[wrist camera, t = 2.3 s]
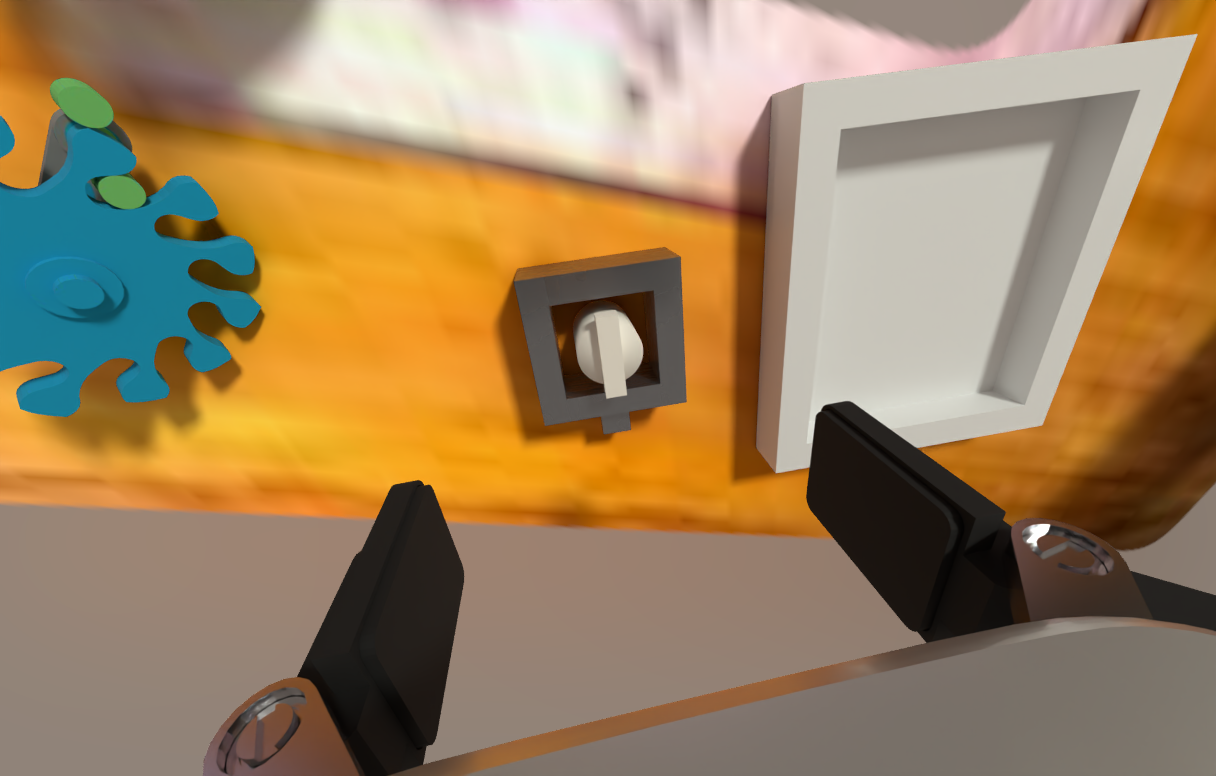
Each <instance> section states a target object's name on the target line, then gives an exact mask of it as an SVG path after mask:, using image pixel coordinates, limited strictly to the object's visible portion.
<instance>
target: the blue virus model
mask: <svg viewBox="0 0 1216 776" xmlns="http://www.w3.org/2000/svg"><path fill="white" fill-rule="evenodd" d="M50 93H51V96H52V98H53V100H54V101H55V102H56V104H57V105H58V106H59V107H60V108H61V109H59V110H57V111H56V112H55V113H54V114H53V116H52V117H51V120H50V125H49V130H48V135H47V141H46V146H45V151H44V157H43V162H42V167H41V172H40V178H39V183H38V186H37V187H35V188H30V189H19V188H14V187H10V186H7V185H5V184H3V183H1V182H0V371H3V370H5V369H9V368H12V367H16V366H19V365H24V364H28V363H32V362H37V361H53V362H57V363H60V364H62V365H64V366H63V368H62V369H61V370H60V371H58V372H56V373H53V374H50V375H46V376H42V377H38V378H35V379H31V380H29V381H27V382H25V383H23V384H22V385H21V386H20V387H19V388H18V389H17V392H16V395H17V399H18V403H19V406H20V409H22V410H25V411H28V412H31V413H36V414H42V415H50V416H63V417H67V416H69V415H71V414H73V413H74V412H75V411H77V409H78V408H79V407H80V398H79V393H80V388H81V386H82V383H83V382H84V380H85V379H86V378H87V376H88V375H89V374H91V373H92V372H93V371H94V370H95V369H96V368H98V367H99V366H100V365H102V364H103V363H104V362H106V361H108V360H111V359H115V358H127V359H131V360H133V361H134V363H133V365H132V366H131V367H129V368H128V369H127V370H126V371H124V372H123V373H122V374H121V375H120V376H119V377H118V378H117V381H116V384H117V387H118V389H119V391H120V393H121V395H122V397H123V399H124V400H125V401H126V402H146V401H152V400H157V399H162V398H166V397H167V396H168V394H169V386H168V385H167V383H166V381H165V380H164V378H163V376H162V375H161V374H160V373H159V372H158V371H157V370H156V369H155V365H154V358H155V352H156V349H157V346H158V343H159V342H160V341H161V340H163V339H165V338H167V337H172V336H179V337H184V338H186V343H185V347H184V355H185V356H186V358H187V359H188V361H189V362H190V364H191V365H192V367H193V368H194V369H196V370H198V371H200V372H205V371H209V370H212V369H214V368H217V367H218V366H220V365H222V364H224V363H225V362H227V361H229V360H230V359H231V355H230V353H229V351H228V350H227V349H226V347H225V346H224V345H223V343H222V342H221V341H219V340H218V339H216V338H213V337H210V336H208V335H206V334H204V333H202V332H200V331H199V330H197V329H196V328H195V327H194V326H193V325H192V323H191V321H190V319H189V317H188V310H189V308H190V307H191V306H192V305H193V304H195V303H198V302H211V303H214V304H215V305H216V307H217V309H218V311H219V312H220V314H221V315H222V316H223V317H224V318H225V320H226V321H227V322H228V323H229V324H231V325H233V326H235V327H240V328H245V327H247V326H248V325H249V324H250V323H251V322H252V321H253V320H254V319H255V317H256V316H257V314H258V312H259V310H260V308H261V306H260V305H259V304H258V303H257V302H256V301H255V300H254V299H253V298H252V297H251V296H250V295H249V294H247V293H245V292H241V291H227V290H221V289H217V288H214V287H211V286H208V285H206V284H204V283H202V282H201V281H199V280H197V279H196V278H194V277H193V276H191V275H190V274H188V268H189V266H190V264H191V263H193V262H194V261H196V260H200V259H208V260H212V261H215V262H216V263H218V264H219V265H221V266H222V267H223V268H225V269H226V270H227V271H229V272H231V273H233V274H237V275H248V274H251V273H252V272H253V270H254V265H255V258H254V251H253V247H252V246H251V245H250V244H249V243H248V242H247V241H246V240H245V239H243V238H241V237H237V236H224V237H221V238H218V239H214V240H209V241H188V240H183V239H178V238H174V237H170V236H166V235H163V234H160V233H158V232H156V231H155V229H154V224H155V221H156V220H157V219H158V218H159V217H161V216H163V215H168V214H174V215H179V216H182V217H185V218H189V219H192V220H197V221H205V220H210V219H212V218H214V217H216V216H217V215H218V214H219V213H218V210H217V207H216V205H215V203H214V202H213V200H212V199H211V197H210V196H209V195H208V194H207V192H206V191H205V190H204V189H203V188H202V187H201V186H200V185H199V184H198V183H197V182H196V181H195V180H194V179H193V178H192V177H191V176H177V177H174V178H172V179H170V180H169V181H168V182H167V183H166V184H165V186H164V187H163V188H162V189H160V190H159V191H158V192H157V193H155V194H153V195H151V196H149V197H146V194H145V191H144V189H143V188H142V187H141V186H140V184H139V183H138V182H137V181H136V180H135V179H134V178H133V177H132V176H131V175H130V174H129V172H130V171H131V170H133V168H134V167H135V165H136V156H135V155H134V154H133V153H132V145H131V142H130V139H129V138H128V136H127V134H126V133H125V132H124V131H123V130H122V129H121V128H120V127H119V126H118V125H117V124H116V123H115V122H114V121H113V115H114V114H113V110H112V108H111V106H110V104H109V103H108V102H107V101H106V100H105V99H104V98H103V97H102V96H101V95H100V94H98V93H97V92H96V91H95V90H94V89H93V88H92V87H90V86H89V85H87V84H85V83H83V82H81V81H79V80H76V79H71V78H60V79H57V80H55V81H54V82H53V83H52V84H51V87H50ZM14 143H15V139H14V135H13V133H12V131H11V129H10V128H9V126H8V124H7V122H6V121H5V120H4V119H3V118H2V116H0V158H1V157H3V156H5V155H6V154H8V153H9V152H10V151H11V150H12V149H13V147H14Z"/></svg>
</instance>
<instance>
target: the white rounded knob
mask: <svg viewBox="0 0 1216 776" xmlns="http://www.w3.org/2000/svg"><path fill="white" fill-rule="evenodd" d="M573 335H574V341H575V347H576V353H577V359H578V363H579V366H580V368H581V370H582V371H583V373H584V374H585V375H586V376H587V377H589V378H590V379H592V380H593V381H596V382H598V383H602V384H604V391H605V395H606V399H607V398H613V397H619V396H625V395H627V390H626V381H625V380H626V379H627V378H629V377H630V376H632V375H633V374H634V373H635V372H636V370H637V369H638V367H639V366H640V364H641V361H642V357H643V345H642V342H641V340H640V337H639V336H638V334H637V332H636V330H635V329H634V327H633V325H632V323H631V322H630V320H629V318H628V316H627V314H626V313H625V311H624V310H623V309H622V308H621V307H620V306H619V305H617V304H615V303H613V302H610V301H605V300H600V301H594V302H591V303H589V304H587V305H586V306H584V307H583V308H582V309H581V310H580V311H579V312H578V314H577V315H576V317H575V319H574V323H573Z"/></svg>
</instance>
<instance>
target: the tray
mask: <svg viewBox="0 0 1216 776" xmlns="http://www.w3.org/2000/svg"><path fill="white" fill-rule="evenodd" d="M1196 37H1197V34H1195V35H1187V36H1179V37H1171V38H1163V39H1155V40H1147V41H1139V42H1131V43H1123V44H1115V45H1107V46H1099V47H1091V48H1083V49H1075V50H1067V51H1059V52H1051V53H1043V54H1035V55H1027V56H1019V57H1011V58H1003V59H995V60H987V61H979V62H971V63H963V64H955V65H947V66H939V67H931V68H923V69H915V70H907V71H899V72H891V73H883V74H875V75H867V76H859V77H851V78H843V79H835V80H827V81H819V82H811V83H804V84H801V85H798V86H795V87H792V88H790V89H787V90H784V91H781V92H778V93H775V94H773V95H772V102H771V125H770V147H769V169H768V192H767V214H766V236H765V258H764V281H763V303H762V325H761V348H760V370H759V392H758V414H757V437H756V448H757V449H758V451H759V452H760V453H761V455H762V456H763V457H764V459H765V460H766V461H767V462H768V464H769V465H770V466H771V468H772V469H773V470H774V472H775V473H780V472H786V471H791V470H797V469H803V468H808V467H810V460H811V452H812V443H813V434H814V426H815V418H816V415H817V413H818V412H821V409H822V407H823V406H824V405H827V404H832V403H838V402H843V401H851V402H853V403H854V404H856V405H857V406H858V407H860V408H861V409H863V410H864V411H865V412H867V413H868V414H870V415H871V416H872V417H874V418H875V419H877V420H878V421H879V422H881V423H882V424H884V425H885V426H886V427H888V428H889V429H891V430H892V431H893V432H895V433H896V434H898V435H899V436H900V437H902V438H903V439H905V440H906V441H907V442H909V443H910V444H912V445H913V446H914V447H916V448H919V447H925V446H930V445H936V444H942V443H947V442H953V441H958V440H964V439H969V438H975V437H980V436H986V435H992V434H997V433H1003V432H1008V431H1014V430H1019V429H1025V428H1030V427H1036V426H1042V424H1043V422H1044V419H1045V417H1046V414H1047V412H1048V409H1049V407H1050V404H1051V402H1052V399H1053V396H1054V394H1055V391H1056V389H1057V386H1058V384H1059V381H1060V379H1061V376H1062V374H1063V371H1064V369H1065V366H1066V364H1067V361H1068V359H1069V356H1070V354H1071V351H1072V349H1073V346H1074V344H1075V341H1076V339H1077V336H1078V334H1079V331H1080V329H1081V326H1082V324H1083V321H1084V318H1085V316H1086V313H1087V311H1088V308H1089V306H1090V303H1091V301H1092V298H1093V296H1094V293H1095V291H1096V288H1097V286H1098V283H1099V281H1100V278H1101V276H1102V273H1103V271H1104V268H1105V266H1106V263H1107V261H1108V258H1109V256H1110V253H1111V251H1112V248H1113V245H1114V243H1115V240H1116V238H1117V235H1118V233H1119V230H1120V228H1121V225H1122V223H1123V220H1124V218H1125V215H1126V213H1127V210H1128V208H1129V205H1130V203H1131V200H1132V198H1133V195H1134V193H1135V190H1136V188H1137V185H1138V183H1139V180H1140V178H1141V175H1142V173H1143V170H1144V167H1145V165H1146V162H1147V160H1148V157H1149V155H1150V152H1151V150H1152V147H1153V145H1154V142H1155V140H1156V137H1157V135H1158V132H1159V130H1160V127H1161V125H1162V122H1163V120H1164V117H1165V115H1166V112H1167V110H1168V107H1169V105H1170V102H1171V100H1172V97H1173V94H1174V92H1175V89H1176V87H1177V84H1178V82H1179V79H1180V77H1181V74H1182V72H1183V69H1184V67H1185V64H1186V62H1187V59H1188V57H1189V54H1190V52H1191V49H1192V47H1193V44H1194V42H1195V39H1196Z"/></svg>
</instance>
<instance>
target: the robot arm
mask: <svg viewBox="0 0 1216 776" xmlns="http://www.w3.org/2000/svg"><path fill="white" fill-rule="evenodd" d="M806 498H807V503H808V506H809V508H810V510H811V511H812V512H813V514H814V515H815V516H816V517H817V518H818V520H819V521H820V522H821V523H822V525H823V526H824V527H825V528H826V529H827V531H828V532H829V533H830V534H831V536H832V537H833V538H834V539H835V540H836V542H838V544H839V545H840V546H841V548H842V549H843V550H844V551H845V553H846V554H847V555H848V556H849V557H850V559H851V560H852V561H853V562H854V563H855V565H856V566H857V567H858V568H859V570H860V571H861V572H862V573H863V574H864V576H865V577H866V578H867V579H868V581H869V582H870V583H871V584H872V585H873V587H874V588H875V589H876V590H877V592H878V593H879V594H880V595H881V596H882V598H883V599H884V600H885V601H886V602H887V604H888V605H889V606H890V607H891V608H892V610H893V611H894V612H895V613H896V615H897V616H898V617H899V618H900V620H901V621H902V622H903V623H904V624H905V625H906V626H907V627H908V628H909V629H910V630H912V631H915V632H916V631H917V632H918V633H919V634H920V635H921V637H922V638H923V639H924V640H925V641H926V643H925V644H921V645H916V646H912V647H908V648H904V649H899V650H895V651H890V652H886V653H882V654H877V655H873V656H868V657H864V658H860V659H856V660H851V661H847V662H842V663H838V664H834V665H830V666H825V667H821V668H817V669H812V670H808V671H804V672H800V673H795V674H791V675H787V676H782V677H778V678H774V679H770V680H766V681H761V682H757V683H753V684H748V685H744V686H740V687H736V688H731V689H727V690H723V691H719V692H715V693H711V694H706V695H702V696H698V697H693V698H689V699H685V700H681V701H677V702H673V703H668V704H664V705H660V706H656V707H651V708H647V709H643V710H639V711H635V712H631V713H627V714H623V715H618V716H615V717H610V718H606V719H602V720H598V721H594V722H590V723H585V724H581V725H577V726H573V727H569V728H565V729H560V730H556V731H552V732H548V733H544V734H540V735H536V736H532V737H527V738H523V739H519V740H515V741H511V742H508V743H504V744H500V745H496V746H492V747H489V748H485V749H481V750H477V751H474V752H470V753H466V754H462V755H458V756H454V757H451V758H447V759H443V760H439V761H435V762H431V763H428V764H424V765H423V762H424V757H425V751H426V746H428V745H432V744H433V743H434V741H435V739H436V736H437V731H438V725H439V719H440V714H441V708H442V703H443V697H444V691H445V686H446V679H447V674H448V669H449V663H450V658H451V652H452V646H453V641H454V635H455V629H456V624H457V618H458V612H459V606H460V601H461V595H462V590H463V583H464V570H463V566H462V563H461V560H460V558H459V555H458V552H457V550H456V547H455V545H454V542H453V540H452V538H451V534H450V532H449V529H448V527H447V524H446V521H445V519H444V516H443V514H442V511H441V508H440V506H439V503H438V501H437V498H436V496H435V493H434V490H433V488H432V487H431V485H425V486H424V484H423V483H422V482H421V481H420V480H417V481H411V482H406V483H401V484H395V485H393V486H392V487H391V489H390V491H389V493H388V495H387V497H386V499H385V501H384V504H383V506H382V508H381V510H380V512H379V514H378V516H377V519H376V521H375V523H374V525H373V527H372V530H371V532H370V534H369V536H368V538H367V540H366V542H365V544H364V547H363V549H362V551H360V552H359V553H358V554H356V556H355V557H354V559H353V561H352V563H351V565H350V567H349V569H348V571H347V573H346V575H345V578H344V579H343V582H342V584H341V586H340V588H339V590H338V592H337V594H336V596H335V598H334V600H333V603H332V605H331V607H330V609H329V611H328V613H327V615H326V618H325V619H324V622H323V623H322V626H321V628H320V630H319V632H318V634H317V636H316V638H315V640H314V643H313V645H312V647H311V649H310V651H309V653H308V655H307V657H306V659H305V661H304V664H303V665H302V668H301V670H300V672H299V674H298V676H297V677H295V678H288V679H283V680H281V681H278V682H276V683H273V684H271V685H268V686H267V687H265V688H264V689H262V690H260V691H259V692H257V693H256V694H254V695H253V696H251V697H250V698H249V699H248V700H247V701H245V702H244V703H243V704H242V705H241V706H239V707H238V708H237V709H236V710H235V711H234V712H233V713H232V714H231V716H230V717H229V718H228V719H227V720H226V721H225V722H224V724H223V725H222V726H221V727H220V729H219V730H218V732H217V733H216V735H215V737H214V738H213V740H212V741H211V743H210V746H209V748H208V750H207V753H206V756H205V758H204V766H203V776H1216V595H1213V594H1209V593H1206V592H1202V591H1198V590H1195V589H1191V588H1188V587H1185V586H1181V585H1178V584H1174V583H1171V582H1167V581H1163V580H1160V579H1157V578H1154V577H1150V576H1147V575H1143V574H1139V573H1136V572H1132V571H1130V569H1129V567H1128V565H1127V563H1126V562H1125V560H1124V559H1123V558H1122V556H1121V555H1120V554H1119V552H1117V551H1116V550H1115V549H1114V548H1113V547H1111V546H1110V545H1109V544H1108V543H1107V542H1105V541H1103V540H1102V539H1100V538H1098V537H1097V536H1095V535H1093V534H1092V533H1089V532H1087V531H1085V530H1082V529H1080V528H1078V527H1075V526H1073V525H1070V524H1066V523H1063V522H1059V521H1056V520H1049V519H1042V518H1030V519H1024V520H1021V521H1018V522H1016V523H1015V524H1014V525H1013V526H1012V527H1011V526H1010V525H1008V524H1007V523H1006V522H1004V521H1003V518H1004V515H1005V513H1006V512H1005V511H1004V510H1002V509H1001V508H1000V507H998V506H997V505H995V504H994V503H993V502H991V501H990V500H988V499H987V498H986V497H984V496H983V495H981V494H980V493H979V492H977V491H976V490H974V489H973V488H972V487H970V486H969V485H968V484H966V483H965V482H963V481H962V480H961V479H959V478H958V477H956V476H955V475H954V474H952V473H951V472H949V471H948V470H947V469H945V468H944V467H942V466H941V465H940V464H938V463H937V462H935V461H934V460H933V459H931V458H930V457H928V456H927V455H926V454H924V453H923V452H921V451H920V450H919V449H917V448H916V447H914V446H913V445H912V444H910V443H909V442H907V441H906V440H905V439H903V438H902V437H900V436H899V435H898V434H896V433H895V432H893V431H892V430H891V429H889V428H888V427H886V426H885V425H884V424H882V423H881V422H879V421H878V420H877V419H875V418H874V417H872V416H871V415H870V414H868V413H867V412H865V411H864V410H863V409H861V408H860V407H858V406H857V405H856V404H854V403H853V402H851V401H843V402H838V403H832V404H827V405H824V406H823V407H822V409H821V412H818V413H817V415H816V418H815V426H814V434H813V443H812V452H811V460H810V469H809V477H808V486H807V495H806Z"/></svg>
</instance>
